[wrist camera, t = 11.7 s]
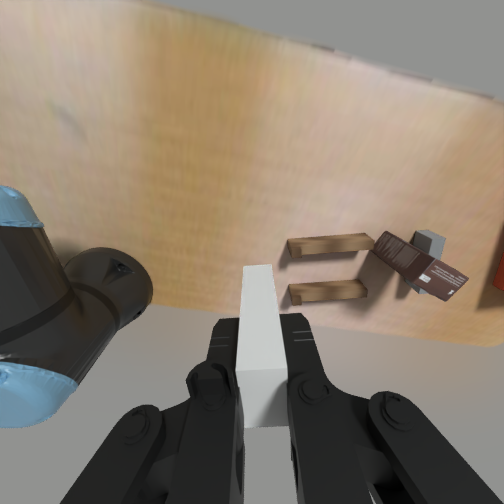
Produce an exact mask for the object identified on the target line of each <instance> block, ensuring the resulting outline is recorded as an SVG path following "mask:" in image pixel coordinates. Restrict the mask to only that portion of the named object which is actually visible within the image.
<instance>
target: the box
mask: <svg viewBox="0 0 504 504" xmlns="http://www.w3.org/2000/svg"><path fill="white" fill-rule="evenodd" d="M371 251H372V252H373V253H374V254H376V255H377V256H378V257H379V258H381V259H382V260H383V261H384V262H386V263H387V264H388V265H389V266H391V267H392V268H393V269H394V270H396V271H397V272H398V273H399V274H400V275H402V276H403V277H404V278H405V279H407V280H408V281H409V282H411V283H412V284H413V285H415V286H417V287H419V288H421V289H423V290H425V291H426V292H427V293H429V294H431V295H433V296H436V297H437V298H439V299H441V300H443V301H445V302H446V301H448V300H449V299H450V297H451V296H453V295H454V293H456V292H457V291H458V290H459V289H460V288H461V287H462V286H463V285H464V284H465V283H466V282H467V281H468V279H469V278H468V277H466V276H465V275H463V274H462V273H460V272H459V271H457V270H456V269H454V268H452V267H450V266H448V265H447V264H445V263H443V262H441V261H440V260H438V259H436V258H434V257H432V256H431V255H429V254H427V253H425V252H423V251H422V250H420V249H418V248H416V247H415V246H413V245H411V244H409V243H408V242H406V241H404V240H402V239H400V238H399V237H397V236H395V235H393V234H391V233H390V232H388V231H385V232H384V233H383V234H382V236H381V237H380V238H379V239H378V240H377V242H376V243H375V244H374V248H373V249H372V250H371Z"/></svg>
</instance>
